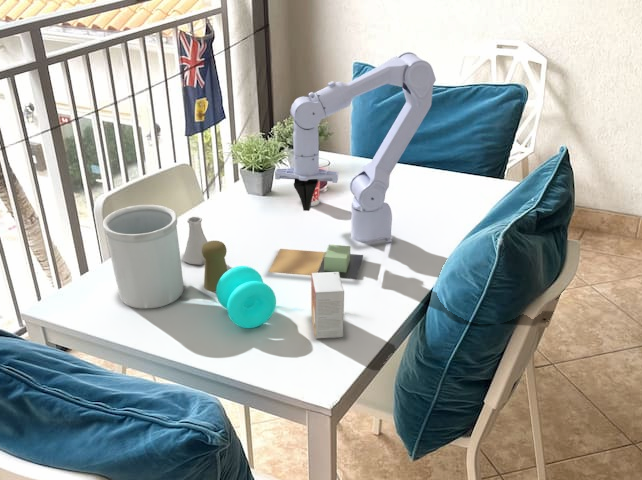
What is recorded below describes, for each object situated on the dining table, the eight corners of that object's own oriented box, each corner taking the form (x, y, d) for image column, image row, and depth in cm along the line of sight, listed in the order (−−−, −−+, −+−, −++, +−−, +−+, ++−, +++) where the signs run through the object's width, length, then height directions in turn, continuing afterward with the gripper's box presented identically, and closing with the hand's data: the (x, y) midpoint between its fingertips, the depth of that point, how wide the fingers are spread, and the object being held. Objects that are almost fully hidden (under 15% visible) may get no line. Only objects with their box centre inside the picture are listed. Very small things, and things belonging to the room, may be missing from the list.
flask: (219, 255, 167) (216, 216, 161) (203, 267, 161) (199, 228, 156) (194, 249, 169) (189, 211, 164) (177, 262, 164) (172, 222, 158)
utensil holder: (156, 317, 143) (144, 239, 133) (101, 300, 149) (86, 224, 139) (199, 286, 154) (191, 212, 144) (147, 271, 160) (136, 199, 150)
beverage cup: (308, 196, 197) (307, 147, 189) (326, 201, 194) (326, 152, 186) (295, 203, 192) (294, 154, 185) (313, 208, 189) (312, 158, 182)
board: (268, 275, 157) (268, 271, 157) (280, 252, 167) (280, 248, 167) (356, 283, 154) (356, 279, 154) (363, 258, 164) (363, 254, 163)
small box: (311, 318, 142) (310, 272, 136) (338, 316, 142) (339, 270, 137) (314, 339, 135) (314, 292, 130) (343, 337, 136) (344, 290, 130)
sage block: (324, 270, 157) (324, 256, 155) (328, 258, 162) (329, 244, 160) (346, 272, 156) (346, 258, 154) (350, 259, 161) (350, 246, 159)
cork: (226, 297, 150) (222, 250, 144) (200, 294, 151) (194, 248, 145) (235, 283, 155) (231, 238, 149) (209, 281, 156) (204, 236, 150)
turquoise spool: (231, 335, 137) (227, 291, 131) (216, 311, 144) (212, 269, 139) (279, 324, 140) (277, 280, 135) (261, 301, 148) (259, 259, 142)
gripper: (270, 157, 156) (273, 213, 163) (334, 160, 153) (334, 217, 161) (278, 147, 162) (280, 202, 169) (339, 150, 159) (339, 206, 167)
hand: (307, 209), depth 165 cm, fingers closed
